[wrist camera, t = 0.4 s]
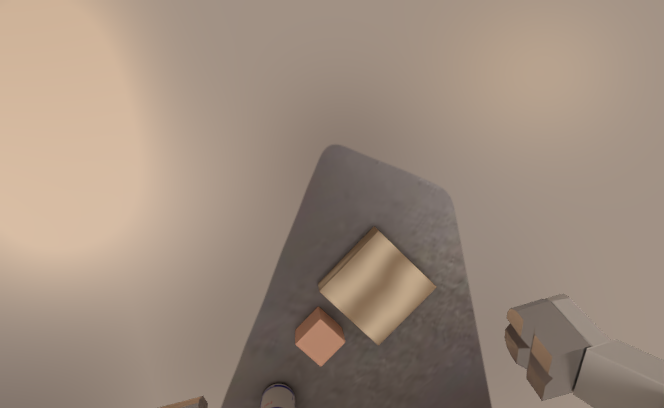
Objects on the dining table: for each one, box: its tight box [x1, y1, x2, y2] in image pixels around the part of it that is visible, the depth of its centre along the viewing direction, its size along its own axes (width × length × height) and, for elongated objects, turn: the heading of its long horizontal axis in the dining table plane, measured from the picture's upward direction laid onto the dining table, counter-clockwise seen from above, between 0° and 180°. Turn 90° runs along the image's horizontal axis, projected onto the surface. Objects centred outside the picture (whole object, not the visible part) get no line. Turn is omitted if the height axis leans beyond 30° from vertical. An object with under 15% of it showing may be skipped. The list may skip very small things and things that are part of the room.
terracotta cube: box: [295, 306, 345, 367], centre depth 62 cm, size 5×5×5 cm
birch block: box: [318, 227, 436, 346], centre depth 63 cm, size 12×12×4 cm
